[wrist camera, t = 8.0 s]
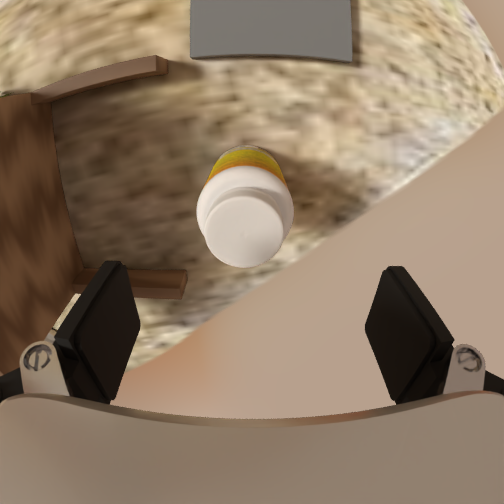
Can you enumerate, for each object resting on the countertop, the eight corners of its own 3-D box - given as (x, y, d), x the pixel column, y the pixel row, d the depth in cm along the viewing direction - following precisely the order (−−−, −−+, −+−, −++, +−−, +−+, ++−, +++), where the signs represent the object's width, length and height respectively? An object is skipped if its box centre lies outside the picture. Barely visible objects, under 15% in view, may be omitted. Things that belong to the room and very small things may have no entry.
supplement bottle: (204, 153, 22) (172, 195, 13) (273, 137, 21) (290, 167, 12) (222, 215, 24) (207, 289, 16) (286, 201, 24) (307, 270, 15)
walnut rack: (187, 280, 28) (145, 428, 14) (79, 276, 28) (7, 386, 14) (167, 59, 18) (27, 19, 4) (41, 93, 18) (-97, 132, 4)
